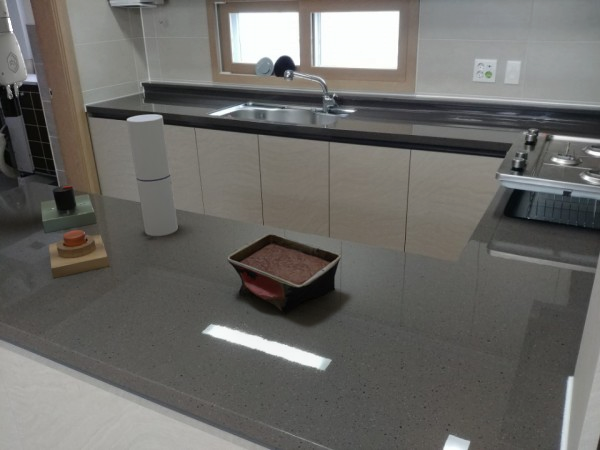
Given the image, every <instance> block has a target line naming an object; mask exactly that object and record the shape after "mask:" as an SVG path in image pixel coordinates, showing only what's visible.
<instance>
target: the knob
mask: <svg viewBox="0 0 600 450" xmlns="http://www.w3.org/2000/svg"><path fill="white" fill-rule="evenodd" d="M73 187H74V186H73V185H60V186H56V187H54V188H52V193H53V195H52V196H53V198H54V199H53V200H55V203H56V208H57V209H59V210H66V209H70V208H73V207H75V206H76V200H75V196H76V195H75V191H74V188H73Z"/></svg>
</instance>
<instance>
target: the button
mask: <svg viewBox="0 0 600 450" xmlns="http://www.w3.org/2000/svg"><path fill="white" fill-rule="evenodd" d="M85 235H86V232H85V231H84V230H81V229H80V230H79V229H76V230H71V231H68V232H65V233H64V234H63V235H62V239H63V240H64V244H65V246H66V247H75V246H80V245H82V244H85V243H86V237H85Z"/></svg>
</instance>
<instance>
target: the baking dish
mask: <svg viewBox="0 0 600 450" xmlns="http://www.w3.org/2000/svg"><path fill="white" fill-rule="evenodd" d="M341 258H342V254H341V253H339V252H336V251H332V250H328V249H325V248H322V247H318V246H316V245H313V244H310V243H307V242H304V241H303V242H302V241H300V240H296V239H292V238H289V237H285V236H282V235H280V234H276V233H266V234H264V235H261V236H258V237H257V238H254V239H253V240H251V241H249V242H247V243H246V244H244V245H242V246H241V247H239V248H237V249H235V250H233V251H232V252H231V253H230V254H228V256H227V257H226V259H227V262H228V263H229V264H230V265H231V266H232V267H233V269H234V270H235V271H236V273H237V274H238V276H239V278H240V280H241V286H240V289H239V291H238V295H239V296H240V295H242V294H243V293H244V292H245V291H247V290H248V291H249V292H250V293H252V294H253V295H254V296H256V297H258V298H261V299H262V300H264V301H266V302H267V303H269V304H271V305H274V306H275V307H276V308H277V309H279V311H281V313H283V314H284V315H286V314H287V313H289V312H290V311H291V310H293V309H294V308H295V307H297V306H298V305H299V304H300V303H302V302H303V301H304V300H309V299H314V298H319V297H323V296H326V295H328V294H329V293H331V292H333V291H334V290H336V288H335V284H336V283H335V282H336V281H335V280H336V279H335V278H336V274H337V270H338V266H339V263H340V261H341Z"/></svg>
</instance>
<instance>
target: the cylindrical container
mask: <svg viewBox="0 0 600 450" xmlns="http://www.w3.org/2000/svg"><path fill="white" fill-rule="evenodd" d="M126 124H127V130H128V136H129V142H130V148H131V154H132V160H133V167H134V173H135V179H136V184H137V185H136V186H137V190H138V197H139V202H140V209H141V216H142V221H143V226H144V233H145V234H146V235H147V236H151V237H161V236H168V235H170V234H173V233H176V232H177V231H178V229H179V226H178V218H177V211H176V204H175V198H174V190H173V189H174V188H173V183H172V182H173V181H172V175H171V167H170V160H169V159H170V158H169V152H168V146H167V145H168V144H167V139H166V131H165V125H164V117H163V115H161V114H156V113H155V114H154V113H153V114H140V115H134V116H130V117H128V118H126Z"/></svg>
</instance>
